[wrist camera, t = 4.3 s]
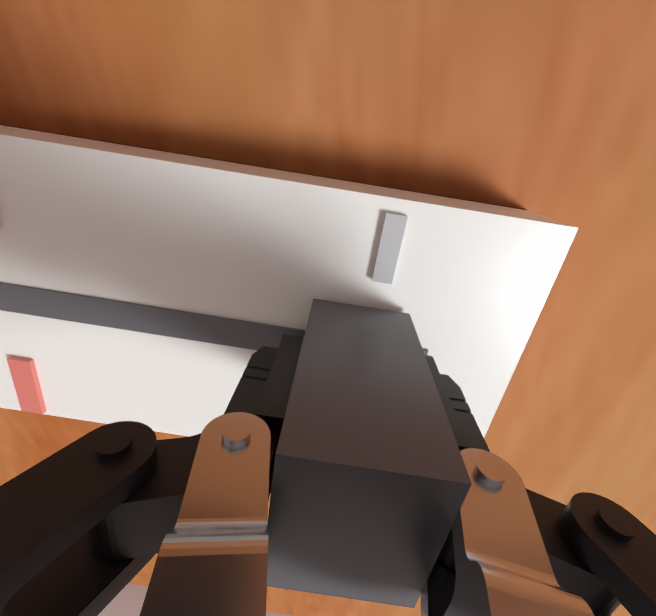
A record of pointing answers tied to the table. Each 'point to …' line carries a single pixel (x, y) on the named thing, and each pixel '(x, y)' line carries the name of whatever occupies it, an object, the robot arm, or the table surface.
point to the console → (237, 277)
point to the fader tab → (362, 462)
